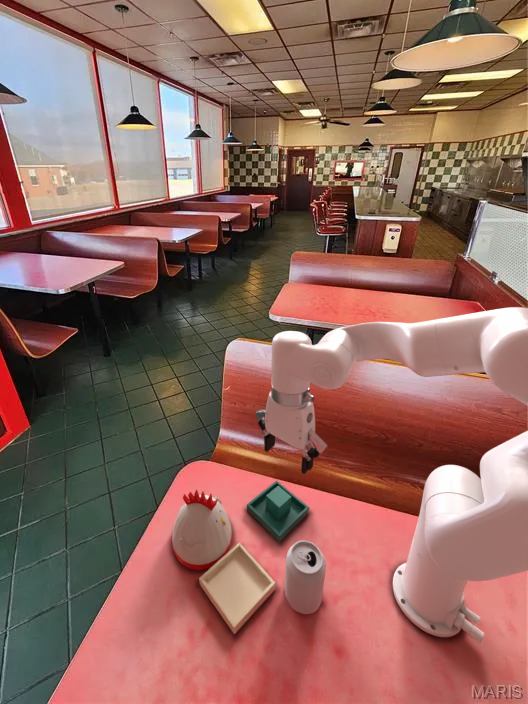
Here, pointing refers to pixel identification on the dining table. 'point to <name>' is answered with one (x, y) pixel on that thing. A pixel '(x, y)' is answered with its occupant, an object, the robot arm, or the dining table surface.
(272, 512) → the block
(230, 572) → the cream tray
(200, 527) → the kitchen timer
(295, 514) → the green tray
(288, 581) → the can
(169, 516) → the dining table surface
